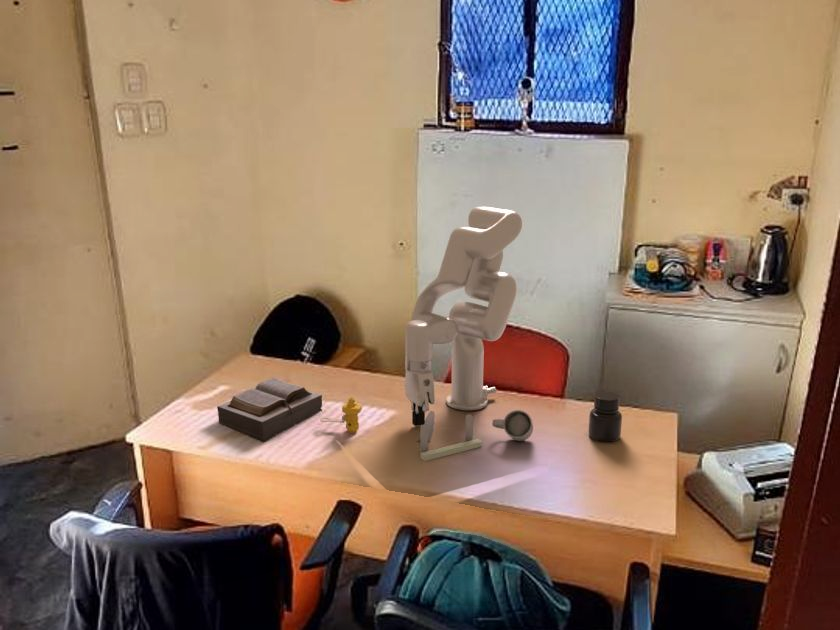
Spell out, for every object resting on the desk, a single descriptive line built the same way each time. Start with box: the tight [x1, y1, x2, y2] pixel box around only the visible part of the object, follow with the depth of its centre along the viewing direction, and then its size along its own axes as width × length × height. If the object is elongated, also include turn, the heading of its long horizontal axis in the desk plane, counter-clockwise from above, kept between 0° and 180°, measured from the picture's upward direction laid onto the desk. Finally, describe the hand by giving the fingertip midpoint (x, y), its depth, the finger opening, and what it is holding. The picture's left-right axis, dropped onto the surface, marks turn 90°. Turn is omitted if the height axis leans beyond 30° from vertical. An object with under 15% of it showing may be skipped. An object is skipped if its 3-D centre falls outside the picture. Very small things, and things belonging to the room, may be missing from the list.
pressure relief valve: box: [319, 397, 363, 434], centre depth 222 cm, size 6×12×10 cm, turn 78°
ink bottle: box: [587, 390, 623, 442], centre depth 219 cm, size 10×9×12 cm
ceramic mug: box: [491, 409, 534, 442], centre depth 215 cm, size 11×8×8 cm
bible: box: [216, 376, 323, 444], centre depth 229 cm, size 23×27×10 cm
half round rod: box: [416, 410, 436, 443], centre depth 225 cm, size 4×20×2 cm, turn 172°
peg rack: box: [419, 414, 483, 462], centre depth 210 cm, size 18×4×8 cm, turn 119°
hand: (418, 424), depth 225 cm, fingers closed
